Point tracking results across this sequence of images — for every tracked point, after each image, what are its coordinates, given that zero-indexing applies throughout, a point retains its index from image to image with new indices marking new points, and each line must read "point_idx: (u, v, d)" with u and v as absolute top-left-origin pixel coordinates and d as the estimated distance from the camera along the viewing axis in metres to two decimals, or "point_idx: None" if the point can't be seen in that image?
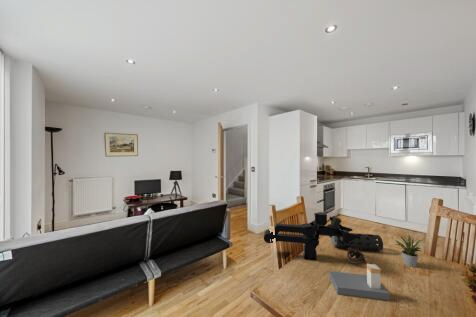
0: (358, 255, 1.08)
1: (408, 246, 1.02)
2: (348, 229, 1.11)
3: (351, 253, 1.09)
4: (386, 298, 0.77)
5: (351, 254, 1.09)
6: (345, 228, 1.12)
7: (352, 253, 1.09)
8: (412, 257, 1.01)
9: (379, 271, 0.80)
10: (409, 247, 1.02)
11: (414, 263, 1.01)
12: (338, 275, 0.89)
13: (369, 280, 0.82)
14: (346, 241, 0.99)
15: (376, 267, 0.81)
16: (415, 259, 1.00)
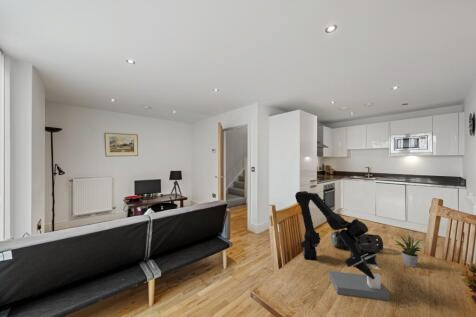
0: None
1: (408, 246, 1.02)
2: None
3: None
4: (386, 298, 0.77)
5: None
6: None
7: None
8: (412, 257, 1.01)
9: (379, 271, 0.80)
10: (409, 247, 1.02)
11: (414, 263, 1.01)
12: (338, 275, 0.89)
13: (369, 280, 0.82)
14: (348, 264, 0.82)
15: (376, 267, 0.81)
16: (415, 259, 1.00)
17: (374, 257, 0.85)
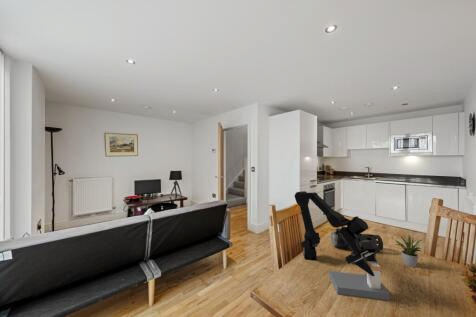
0: None
1: (408, 246, 1.02)
2: None
3: None
4: (386, 298, 0.77)
5: None
6: None
7: None
8: (412, 257, 1.01)
9: (379, 268, 0.80)
10: (409, 247, 1.02)
11: (414, 263, 1.01)
12: (338, 275, 0.89)
13: (369, 277, 0.82)
14: (348, 261, 0.82)
15: (376, 264, 0.81)
16: (415, 259, 1.00)
17: (374, 254, 0.85)
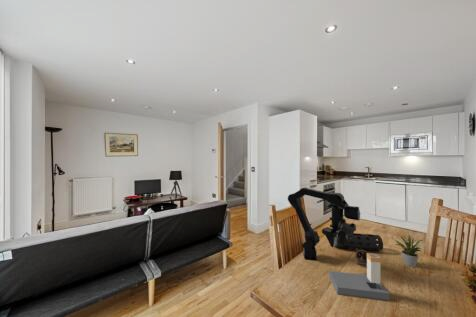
0: (365, 256, 1.07)
1: (408, 246, 1.02)
2: (342, 239, 1.03)
3: (358, 254, 1.08)
4: (386, 298, 0.77)
5: (358, 255, 1.08)
6: (343, 236, 1.03)
7: (359, 254, 1.08)
8: (412, 257, 1.01)
9: (379, 260, 0.80)
10: (409, 247, 1.02)
11: (414, 263, 1.01)
12: (338, 275, 0.89)
13: (369, 269, 0.82)
14: (323, 232, 0.98)
15: (376, 256, 0.81)
16: (415, 259, 1.00)
17: None
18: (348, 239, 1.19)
